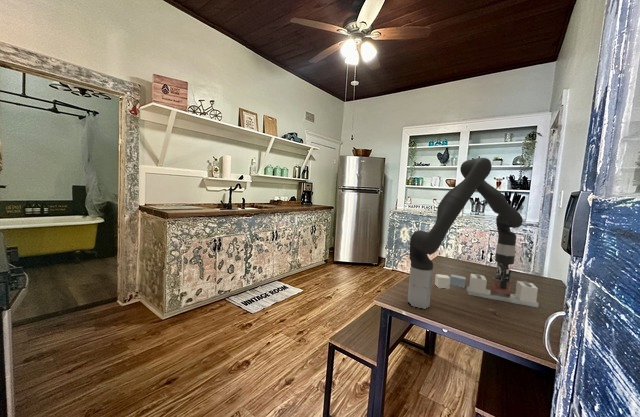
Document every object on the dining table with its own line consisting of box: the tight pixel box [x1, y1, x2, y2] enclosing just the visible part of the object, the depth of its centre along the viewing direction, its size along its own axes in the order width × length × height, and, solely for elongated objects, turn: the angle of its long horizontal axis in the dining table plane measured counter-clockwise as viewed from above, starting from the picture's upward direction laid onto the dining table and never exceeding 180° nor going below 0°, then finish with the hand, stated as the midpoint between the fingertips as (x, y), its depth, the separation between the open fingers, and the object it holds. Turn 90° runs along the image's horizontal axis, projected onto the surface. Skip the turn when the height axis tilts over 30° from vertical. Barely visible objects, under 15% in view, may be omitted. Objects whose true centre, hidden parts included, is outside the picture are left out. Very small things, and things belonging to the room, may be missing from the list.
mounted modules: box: [468, 273, 539, 303], centre depth 124 cm, size 7×26×8 cm, turn 67°
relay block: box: [434, 273, 451, 290], centre depth 136 cm, size 5×6×6 cm
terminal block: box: [450, 274, 466, 289], centre depth 139 cm, size 4×7×5 cm, turn 57°
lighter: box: [490, 273, 513, 297], centre depth 124 cm, size 8×3×10 cm, turn 64°
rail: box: [466, 285, 540, 308], centre depth 125 cm, size 7×28×2 cm, turn 67°
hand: (501, 286), depth 124 cm, fingers open, 6 cm apart
